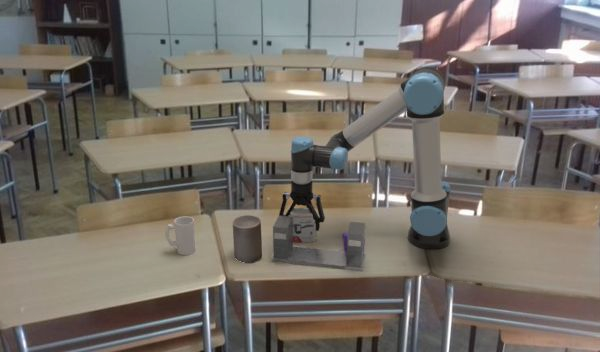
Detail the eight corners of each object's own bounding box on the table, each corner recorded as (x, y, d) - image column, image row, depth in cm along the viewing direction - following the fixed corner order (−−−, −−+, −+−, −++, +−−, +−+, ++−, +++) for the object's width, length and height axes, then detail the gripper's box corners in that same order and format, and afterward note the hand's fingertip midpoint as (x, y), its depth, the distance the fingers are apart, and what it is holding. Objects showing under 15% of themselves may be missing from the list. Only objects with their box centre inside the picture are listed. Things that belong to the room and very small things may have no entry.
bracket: (364, 253, 203) (364, 236, 200) (344, 253, 203) (345, 235, 200) (360, 237, 214) (361, 220, 211) (342, 237, 214) (343, 220, 211)
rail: (364, 256, 200) (366, 222, 195) (362, 271, 191) (364, 235, 186) (278, 248, 205) (277, 214, 200) (271, 261, 196) (271, 227, 191)
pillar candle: (260, 248, 205) (259, 210, 199) (263, 262, 196) (262, 222, 190) (233, 251, 203) (231, 213, 198) (235, 265, 194) (232, 225, 189)
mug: (195, 245, 207) (193, 215, 202) (196, 254, 201) (194, 223, 196) (167, 248, 205) (164, 217, 201) (167, 257, 199) (164, 226, 194)
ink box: (290, 243, 209) (290, 213, 204) (289, 236, 213) (289, 207, 209) (313, 242, 209) (314, 213, 205) (312, 236, 214) (312, 207, 210)
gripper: (334, 178, 204) (332, 234, 213) (273, 174, 208) (274, 229, 216) (331, 186, 197) (329, 244, 206) (269, 182, 201) (269, 238, 209)
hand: (301, 236), depth 211 cm, fingers closed on ink box, 9 cm apart
